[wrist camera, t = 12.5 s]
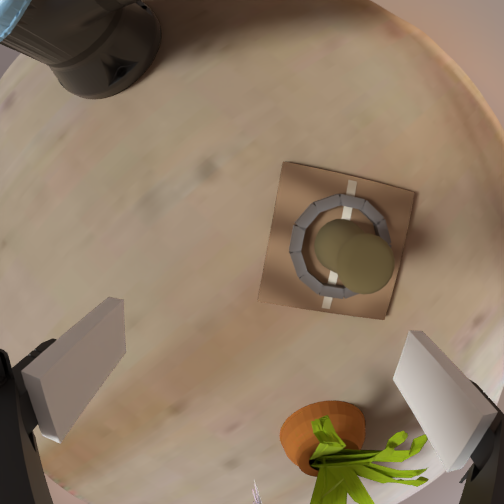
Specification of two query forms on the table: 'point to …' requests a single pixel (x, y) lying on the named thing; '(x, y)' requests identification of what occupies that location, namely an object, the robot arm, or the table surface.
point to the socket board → (308, 225)
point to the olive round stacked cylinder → (355, 256)
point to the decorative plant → (342, 452)
